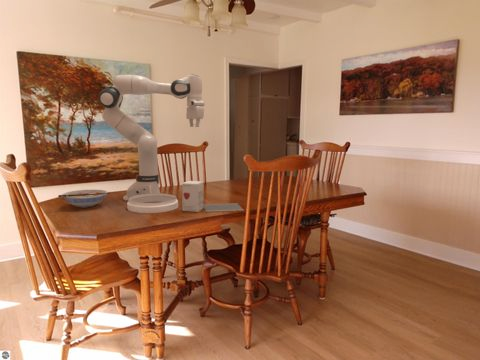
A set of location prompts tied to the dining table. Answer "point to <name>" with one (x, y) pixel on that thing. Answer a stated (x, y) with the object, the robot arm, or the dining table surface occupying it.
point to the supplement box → (192, 196)
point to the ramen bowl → (84, 197)
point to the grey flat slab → (222, 207)
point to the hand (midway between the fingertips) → (194, 126)
